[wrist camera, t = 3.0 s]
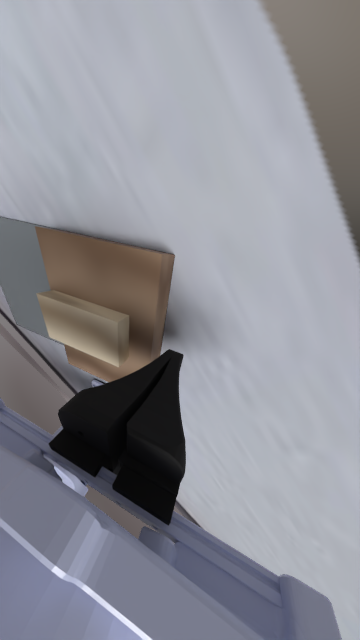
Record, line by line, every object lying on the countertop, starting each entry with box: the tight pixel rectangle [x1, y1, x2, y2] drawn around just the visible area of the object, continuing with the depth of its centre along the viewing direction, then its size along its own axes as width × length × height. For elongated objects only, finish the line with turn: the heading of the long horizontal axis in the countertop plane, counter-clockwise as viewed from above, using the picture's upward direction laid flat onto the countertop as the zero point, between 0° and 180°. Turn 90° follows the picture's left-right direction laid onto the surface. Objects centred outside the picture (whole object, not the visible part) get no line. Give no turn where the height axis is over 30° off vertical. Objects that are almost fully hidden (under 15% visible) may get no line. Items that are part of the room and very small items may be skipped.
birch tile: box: [36, 290, 129, 367], centre depth 14 cm, size 5×9×2 cm, turn 79°
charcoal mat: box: [0, 217, 64, 345], centre depth 19 cm, size 16×14×1 cm
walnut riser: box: [35, 226, 175, 382], centre depth 15 cm, size 16×12×2 cm
